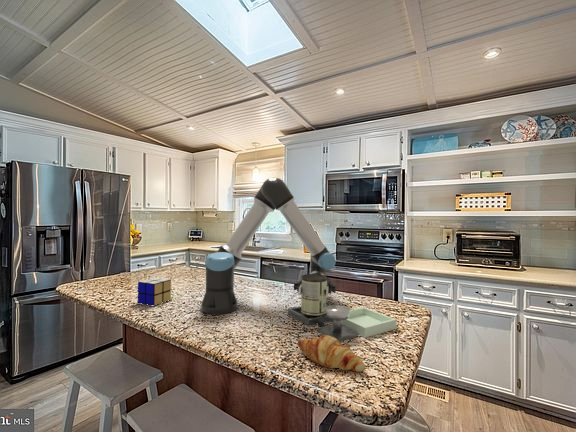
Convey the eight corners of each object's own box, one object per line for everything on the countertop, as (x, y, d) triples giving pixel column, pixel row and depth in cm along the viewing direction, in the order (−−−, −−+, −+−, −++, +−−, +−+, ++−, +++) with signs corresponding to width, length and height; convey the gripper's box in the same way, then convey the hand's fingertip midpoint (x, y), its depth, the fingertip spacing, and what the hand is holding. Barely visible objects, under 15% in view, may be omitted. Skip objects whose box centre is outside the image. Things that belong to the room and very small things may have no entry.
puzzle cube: (137, 303, 128) (137, 281, 128) (155, 298, 137) (155, 277, 137) (153, 306, 124) (154, 283, 124) (171, 300, 134) (171, 279, 134)
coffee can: (301, 306, 121) (302, 273, 121) (325, 308, 120) (326, 274, 120) (299, 314, 111) (300, 278, 111) (326, 316, 110) (327, 279, 110)
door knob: (335, 342, 92) (335, 315, 92) (308, 326, 104) (308, 303, 104) (358, 336, 97) (358, 310, 97) (329, 321, 110) (330, 299, 110)
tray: (364, 337, 95) (365, 327, 95) (333, 322, 109) (333, 313, 109) (396, 328, 104) (396, 319, 104) (363, 315, 117) (363, 307, 117)
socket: (308, 325, 105) (308, 320, 105) (287, 313, 118) (287, 308, 118) (339, 318, 113) (340, 313, 113) (316, 308, 126) (317, 303, 126)
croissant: (368, 382, 76) (374, 350, 79) (356, 380, 69) (363, 345, 72) (302, 356, 89) (309, 330, 91) (285, 352, 81) (293, 323, 84)
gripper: (340, 290, 131) (342, 304, 109) (292, 286, 135) (284, 300, 113) (341, 273, 131) (343, 285, 109) (292, 271, 135) (284, 281, 113)
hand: (313, 292), depth 111 cm, fingers closed on coffee can, 10 cm apart
